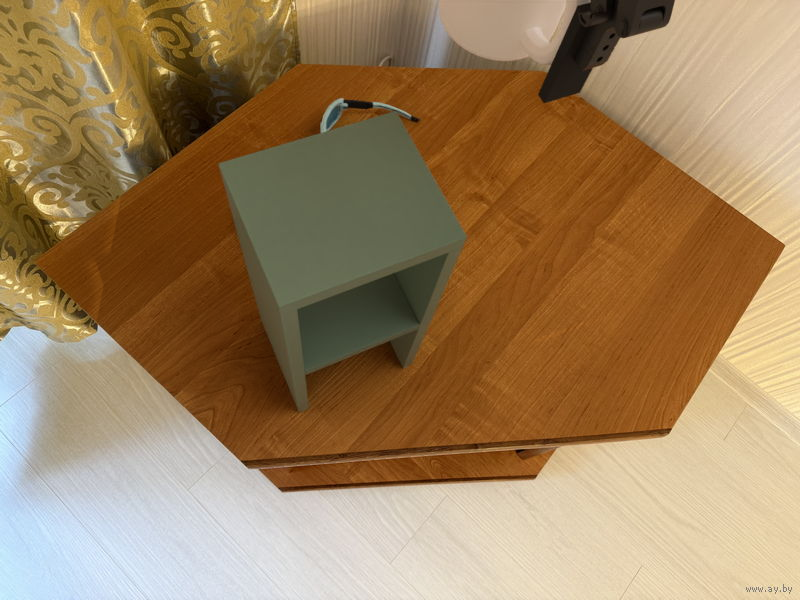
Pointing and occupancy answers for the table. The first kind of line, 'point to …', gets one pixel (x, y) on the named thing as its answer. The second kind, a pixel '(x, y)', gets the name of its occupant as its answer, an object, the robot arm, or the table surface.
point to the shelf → (342, 244)
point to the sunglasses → (335, 113)
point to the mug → (508, 27)
